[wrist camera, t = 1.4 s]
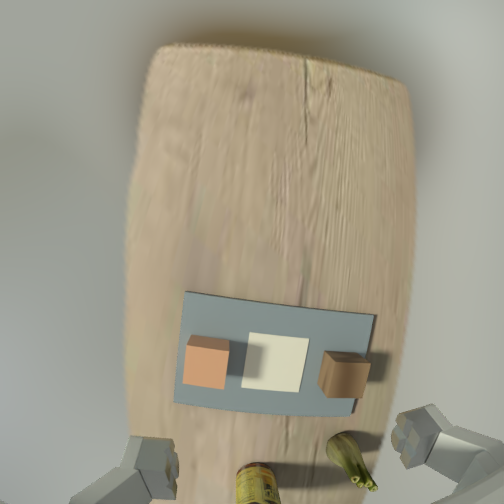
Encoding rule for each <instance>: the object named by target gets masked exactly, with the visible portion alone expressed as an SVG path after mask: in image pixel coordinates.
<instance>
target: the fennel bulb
mask: <svg viewBox="0 0 504 504" xmlns="http://www.w3.org/2000/svg"><path fill="white" fill-rule="evenodd" d="M326 453H327V456H328V458H329V459H330V460H331V461H332V462H333V463H335V464H337V465H339V466H341V467H343V468H344V470H345V471H346V473H347V475H348V477H349V479H350V480H351V482H353V483H356V485H357V487H359V488H362V486H363V485H364V486H365V487H368V489H369V490H370V491H371V492H374V491H376V490H378V486H377V485H376V483H375V482H374V480H373V479H372V477H371V476H370V474H369V472H368V471H367V469H366V467H365V464H364V461H363V458H362V455H361V452H360V449H359V447H358V445H357V443H356V441H355V440H354V439H353V438H352V436H351V435H350V434H347V433H340V434H337V435H336V436H333V437H331V438H330V439H329V440H328V442H327V447H326Z"/></svg>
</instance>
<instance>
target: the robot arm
mask: <svg viewBox="0 0 504 504" xmlns="http://www.w3.org/2000/svg"><path fill="white" fill-rule="evenodd" d="M396 422H397V425H396V426H395V428H394V429H393V431H392V435H391V442H392V445H393V447H394V449H395V451H397V452H400V453H401V456H400V459H401V461H402V463H403V464H404V466H405V468H406V469H409V468H413V467H416V466H419V465H422V464H425V465H427V466H429V467H430V468H432V469H434V470H435V471H437V472H439V473H441V474H442V475H444V476H446V477H448V478H449V479H451V480H453V481H455V482H457V483H458V485H457V486H456V488H455V489H454V491H453V493H452V494H451V495H449V496H447V497H445V498H443V499H440V500H438V501H436V502H434V503H431V504H504V444H503V443H502V441H500V440H496V439H494V438H491V437H488V436H484V435H482V434H479V433H476V432H473V431H470V430H467V429H464V428H461V427H459V426H454V427H453V426H452V424H451V423H450V422H449V421H448V420H447V418H446V417H445V416H444V415H443V414H442V413H441V411H440V410H439V409H438V408H437V407H436V406H435V405H434V404H429V405H426V406H423V407H420V408H416V409H413V410H410V411H406V412H402V413H399V415H398V416H397V418H396ZM174 448H175V445H174V441H173V439H169V438H155V437H141V436H132V435H131V436H130V437H129V438H128V441H127V444H126V447H125V451H124V454H123V457H122V460H121V463H120V467H115V468H113V469H112V470H111V471H109V472H108V473H106V474H105V475H104V476H102V477H101V478H99V479H98V480H97V481H95V482H94V483H92V484H91V485H89V486H88V487H86V488H85V489H83V490H82V491H80V492H79V493H77V494H76V495H74V496H73V497H72V498H71V499H70V502H69V504H149V503H150V502H151V501H152V499H165V500H176V493H177V484H176V480H175V479H177V478H178V476H179V460H178V455H177V453H176V452H174ZM0 504H8V503H6V502H4V501H1V500H0Z"/></svg>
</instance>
